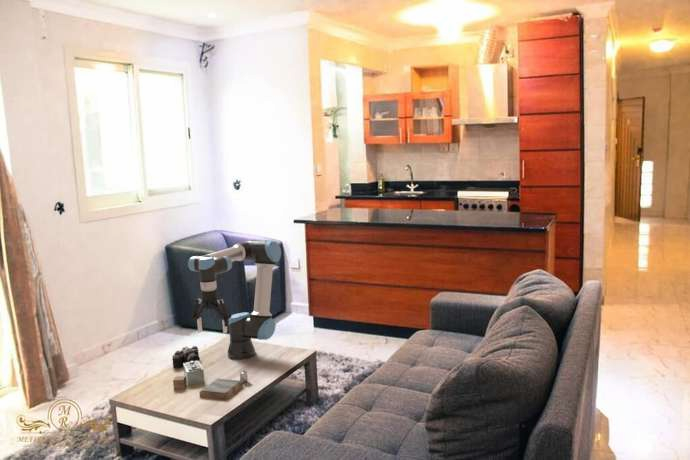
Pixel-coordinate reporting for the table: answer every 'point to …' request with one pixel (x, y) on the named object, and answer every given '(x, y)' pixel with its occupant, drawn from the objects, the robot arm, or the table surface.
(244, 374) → the steel cup
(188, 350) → the camera
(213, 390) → the grey brown flat block
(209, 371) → the table surface
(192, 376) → the housing
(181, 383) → the walnut block
